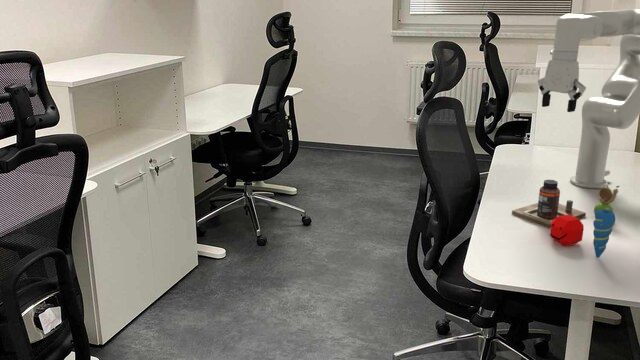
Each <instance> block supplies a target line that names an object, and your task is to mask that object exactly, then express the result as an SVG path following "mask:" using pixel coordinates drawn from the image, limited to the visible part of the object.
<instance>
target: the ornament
mask: <svg viewBox="0 0 640 360" xmlns="http://www.w3.org/2000/svg"><path fill="white" fill-rule="evenodd" d="M594 218H595V219H594V220H593V238H594V239H593V241H592V242H593V249H594V253H595V258H597V259H599V258H600V257H601V256H602V255H603V254H604V252H605V251H606V249H607V244H608V242H609V240H610V236H611V234H612V232H613V229H614V228H613V227H614V225H615V223H616V215H615V213H614V211H613V212H612V211H610V210H609V208H607V207H606V208H605V209H601V210H598V211H596V212H595V214H594Z"/></svg>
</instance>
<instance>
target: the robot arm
mask: <svg viewBox="0 0 640 360" xmlns="http://www.w3.org/2000/svg"><path fill="white" fill-rule="evenodd" d="M618 36H622V37H621V39H620V42H619V63H618V65H617V67H616V68H615V70H614V71H613V72H612V73H611V75H610V76H609V77H608V79H607V80H606V81H605V82H604V84H603V85H602V88H601V96H592V97H589V98H587V99H586V100H585V101H584V103H583V104H582V106H581V107H582V108H581V122H582V123H581V126H582V127H581V133H580V135H581V136H580V143H579V148H578V155H577V164H576V169H575V175H573V176H571V177H570V179H569V182H570V183H571V184H572V185H575V186H577V187H581V188H585V189H601V188H602V187H608V185H609V183H608V181H607V180H606V179H605V177H607V176H610V174H611V171H610V170H608V169H607V170H606V166H607V160H608V154H609V148H610V141H611V134H610V130H609V128H612V129H618V130H625V129H628V128H630V127H631V126H632V124H633V123H635V121H636V119H638V118H639V117H638V116H639V115H640V57H639V56H640V9H639V8H626V9H614V10H602V11H601V10H599V11H591V12H590V11H589V12H574V13H566V14H564V15H562V16H559V17H558V18H557V20H556V25H555V33H554V41H553V47H552V48H553V49H552V50H551V51H550V53H549V55H550V56H551V58H550V59H549V61H548V63H547V67H546V69H545V74H544V77H542V78H540V79H538V80H537V84H538V86H539V90H540V92H541V93H540V94H541V95H542V97H541V98H542V99H541V107H542V108H545V107H550V104H551V97H552V94H551V92H554V93H560V94H567V95H568V97H569V98H570V99H568V100H567V103H568V104H567V110H566V111H567V112H568V113H572V112H575V111H576V108H577V102H578V100H579V98H580V97H582V96H583V94H584V93H585V91H586V89H587V87H586V86H585V85H584V84H582V83H581V82H580V81H579V79H580V64H579V61H578V58H579V57H578V56H579V50H580V49H579V47H580V42H581V40H588V41H589V40H594V39H597V38H611V37H618Z"/></svg>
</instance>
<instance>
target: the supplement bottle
mask: <svg viewBox="0 0 640 360" xmlns="http://www.w3.org/2000/svg"><path fill="white" fill-rule="evenodd" d="M558 184H559V183H558V181H557V180H554V179H545V180H544V181H543V186H541V187H540V188H539V194H538V202H537V203H538V208H537V215H538V216H539V217H542V218H545V219H553V218H556V217H557V213H558V205H559V204H560V195H561V190H560V188H559V187H558Z"/></svg>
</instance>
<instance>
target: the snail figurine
mask: <svg viewBox="0 0 640 360" xmlns="http://www.w3.org/2000/svg"><path fill="white" fill-rule="evenodd" d="M619 187H620V185H616V186H615V188H614V189H612V190H611V189H610V188H609V187H608V186H607V187H602V188H599V191H598V195H599V196H598V197H597V198H598V200H599V201H600V202H598V203H597V204H595V206H594V209H593V213H594V215H595V212H596V211H598V210H601V209H605V208H606V207H607V208H609V210H610V211H612V212H614V208H613V206H612V205H611V204H612V203H613V202H614V201H615V199H616V198H617V194H618V193H619Z"/></svg>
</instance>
